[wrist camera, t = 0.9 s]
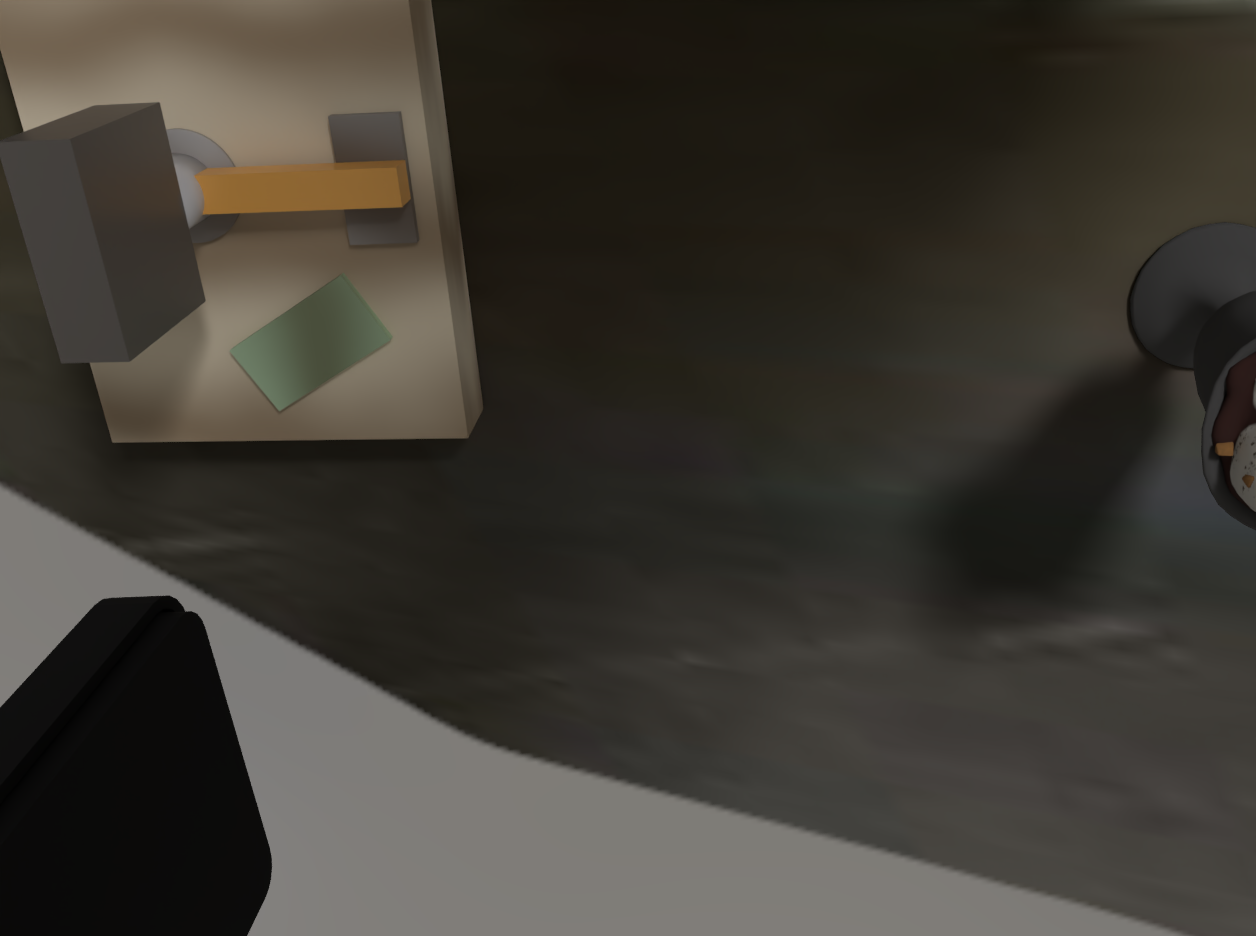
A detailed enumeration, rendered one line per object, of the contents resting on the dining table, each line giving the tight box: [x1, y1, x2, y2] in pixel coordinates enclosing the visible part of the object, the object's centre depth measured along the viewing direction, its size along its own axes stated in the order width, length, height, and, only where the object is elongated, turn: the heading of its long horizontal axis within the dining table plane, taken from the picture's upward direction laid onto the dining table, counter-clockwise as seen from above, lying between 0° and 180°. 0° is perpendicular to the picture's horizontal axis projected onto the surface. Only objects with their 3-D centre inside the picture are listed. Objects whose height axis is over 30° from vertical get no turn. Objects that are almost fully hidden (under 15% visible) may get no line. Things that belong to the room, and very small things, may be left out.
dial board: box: [0, 0, 483, 443], centre depth 40 cm, size 15×13×3 cm
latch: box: [0, 102, 411, 363], centre depth 34 cm, size 8×6×7 cm
